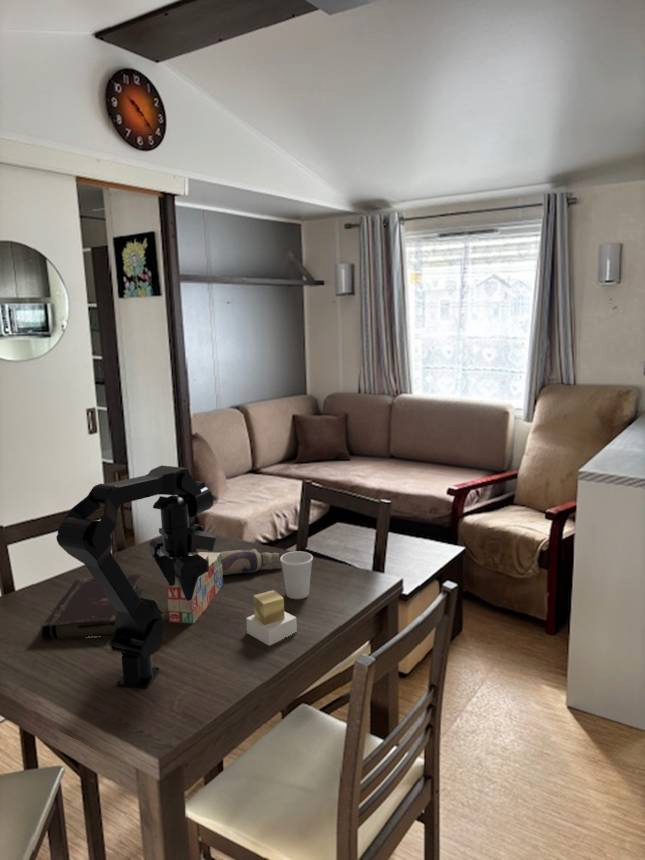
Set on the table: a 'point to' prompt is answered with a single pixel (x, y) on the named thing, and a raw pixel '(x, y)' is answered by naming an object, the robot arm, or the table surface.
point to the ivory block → (271, 629)
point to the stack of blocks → (195, 592)
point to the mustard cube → (269, 607)
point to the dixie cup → (297, 573)
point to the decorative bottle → (246, 560)
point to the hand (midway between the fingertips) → (180, 592)
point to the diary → (84, 611)
